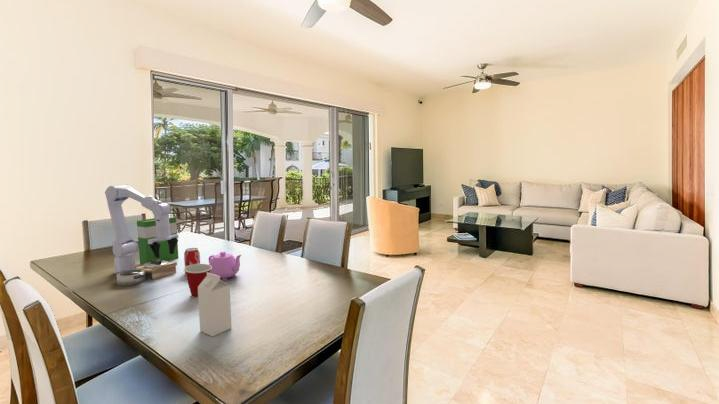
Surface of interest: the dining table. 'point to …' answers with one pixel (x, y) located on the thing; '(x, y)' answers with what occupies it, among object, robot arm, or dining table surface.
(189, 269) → the plastic cup
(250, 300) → the dining table surface
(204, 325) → the milk carton
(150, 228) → the hardback book
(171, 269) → the lid rest
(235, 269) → the teapot
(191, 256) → the soda can
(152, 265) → the lid
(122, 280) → the cooker
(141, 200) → the robot arm
